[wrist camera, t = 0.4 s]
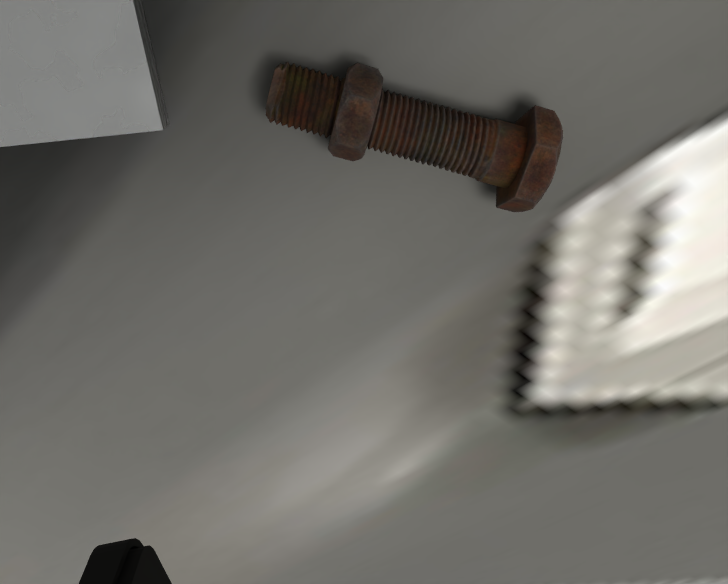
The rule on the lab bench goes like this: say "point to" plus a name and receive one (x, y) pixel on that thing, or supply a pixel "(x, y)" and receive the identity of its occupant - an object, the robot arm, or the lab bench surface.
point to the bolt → (420, 130)
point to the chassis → (76, 71)
